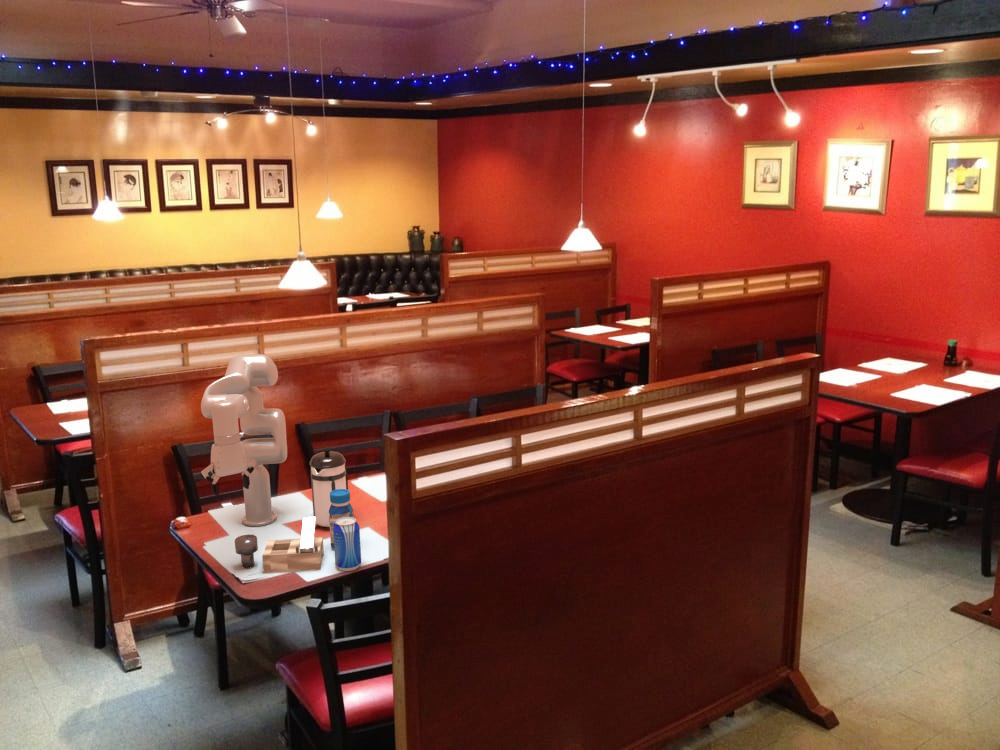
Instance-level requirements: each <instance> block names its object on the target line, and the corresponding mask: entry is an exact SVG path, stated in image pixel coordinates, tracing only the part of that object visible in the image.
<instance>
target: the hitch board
mask: <svg viewBox="0 0 1000 750" xmlns="http://www.w3.org/2000/svg"><path fill="white" fill-rule="evenodd" d="M300 547H301V537H300V538H288V539H287V538H285V539H268V540H267V543H266V545H265V548H264V550H263V553H262V565H263V566H262V568H263V574H264V573H265V574H266V573H278V572H279V573H281V572H283V573H284V572H298V571H300V572H301V571H317V570H320V571H321V567H322V563H323V560H324V555H325V553H324V552H325V550H324V536H323V537H322V536H321V537H314V547H313V552H304V553H300Z"/></svg>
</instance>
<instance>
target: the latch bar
mask: <svg viewBox="0 0 1000 750" xmlns="http://www.w3.org/2000/svg"><path fill="white" fill-rule="evenodd" d="M315 526H316V518H315V517H314V516H308V517H307V516H306V517H303V518H302V526H301V537H300V538H301V547H300V553H304V552H313V547H314V538H315V532H316V528H315Z"/></svg>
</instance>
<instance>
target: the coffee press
mask: <svg viewBox="0 0 1000 750" xmlns="http://www.w3.org/2000/svg"><path fill="white" fill-rule="evenodd" d="M346 461H347V460H346V458H345V457H344V455H343V454H341V452H339V451H332V450H331V448H330V447H329V446H325V447H324V448H323V451H321V452H318V453H316V454H314V455H313V456H312V457H311V459H310V461H309V466H310V481H311V497H312V511H313V512H312V513H313V517H315V518H316V522H315V529H316V528H317V527H318V526H320V527H324V528H325V527H326V528H330V523H329V516H330V514H329V508H330V506H331V504H332V503H331V501H330V492H331V491H333V490H336V489H346V490H349V483H348V482H349V481H348V480H349V479H348V469H347V466H346Z"/></svg>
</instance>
